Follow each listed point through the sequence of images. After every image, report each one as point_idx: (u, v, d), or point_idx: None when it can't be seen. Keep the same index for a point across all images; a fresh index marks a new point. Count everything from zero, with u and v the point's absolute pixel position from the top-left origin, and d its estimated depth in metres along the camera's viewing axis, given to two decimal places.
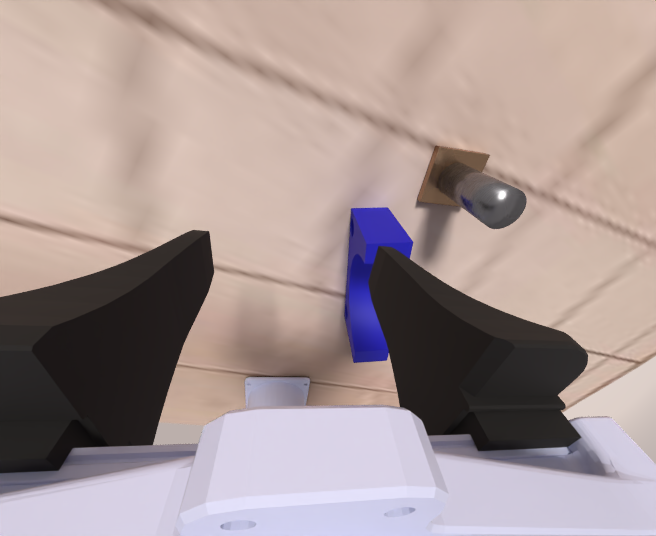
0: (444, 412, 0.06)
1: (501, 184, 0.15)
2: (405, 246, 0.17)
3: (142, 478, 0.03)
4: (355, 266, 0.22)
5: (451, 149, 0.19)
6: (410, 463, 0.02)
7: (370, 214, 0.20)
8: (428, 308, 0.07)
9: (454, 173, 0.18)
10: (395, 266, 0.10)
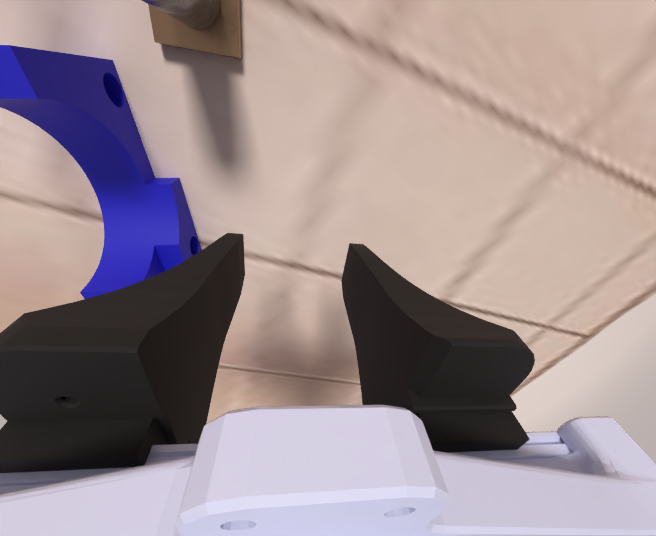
0: None
1: None
2: (1, 56, 0.09)
3: (142, 478, 0.03)
4: (84, 162, 0.15)
5: None
6: (410, 463, 0.02)
7: None
8: (385, 306, 0.07)
9: None
10: (361, 264, 0.10)
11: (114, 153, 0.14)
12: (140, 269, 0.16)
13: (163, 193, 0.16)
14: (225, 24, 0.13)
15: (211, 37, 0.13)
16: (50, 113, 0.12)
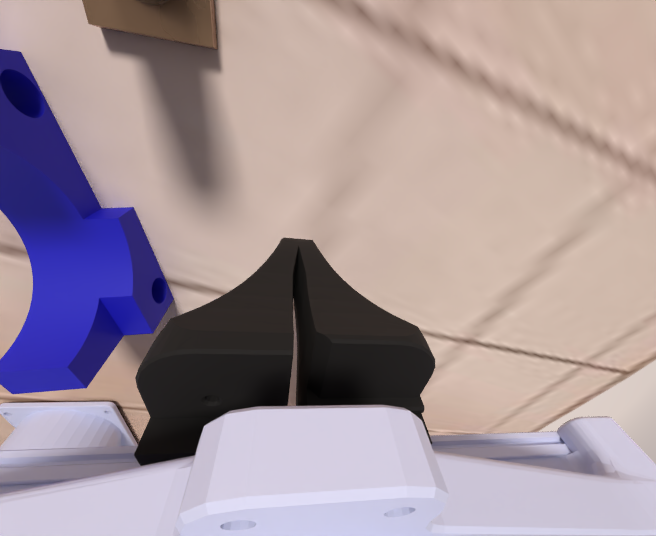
0: None
1: None
2: None
3: (142, 478, 0.03)
4: None
5: None
6: (410, 463, 0.02)
7: None
8: (306, 302, 0.07)
9: None
10: (301, 259, 0.09)
11: (32, 181, 0.10)
12: (77, 333, 0.12)
13: (109, 230, 0.12)
14: None
15: (171, 17, 0.09)
16: None
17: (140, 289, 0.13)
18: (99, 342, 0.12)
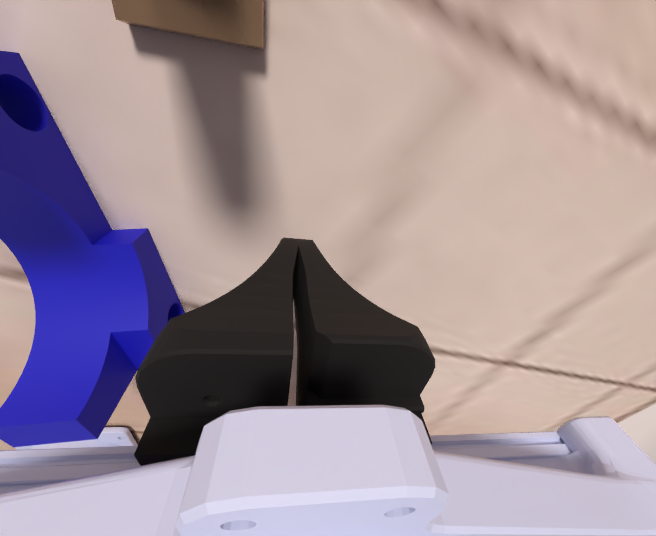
0: None
1: None
2: None
3: (142, 478, 0.03)
4: None
5: None
6: (410, 464, 0.02)
7: None
8: (306, 302, 0.07)
9: None
10: (300, 259, 0.09)
11: (33, 205, 0.09)
12: (87, 375, 0.10)
13: (122, 256, 0.11)
14: None
15: (214, 11, 0.07)
16: None
17: (156, 320, 0.12)
18: (111, 383, 0.11)
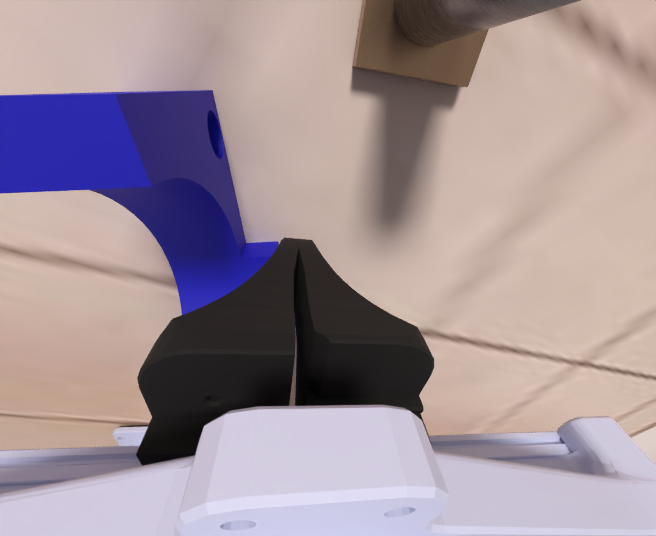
0: None
1: None
2: (95, 115, 0.04)
3: (142, 478, 0.03)
4: (164, 235, 0.10)
5: None
6: (410, 463, 0.02)
7: None
8: (305, 302, 0.07)
9: None
10: (300, 259, 0.09)
11: (209, 224, 0.10)
12: None
13: None
14: (466, 38, 0.08)
15: (439, 58, 0.09)
16: None
17: None
18: None
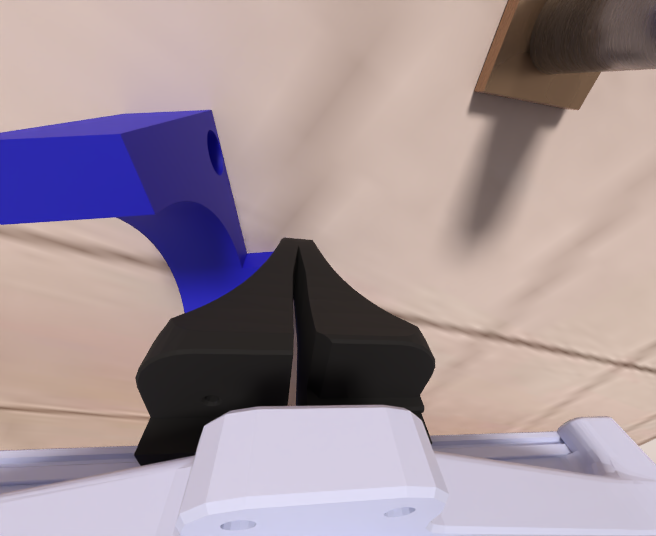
0: None
1: None
2: (101, 153, 0.05)
3: (142, 478, 0.03)
4: (167, 249, 0.11)
5: None
6: (410, 463, 0.02)
7: (144, 115, 0.08)
8: (306, 302, 0.07)
9: None
10: (300, 260, 0.09)
11: (211, 237, 0.10)
12: None
13: None
14: None
15: (558, 84, 0.09)
16: None
17: None
18: None
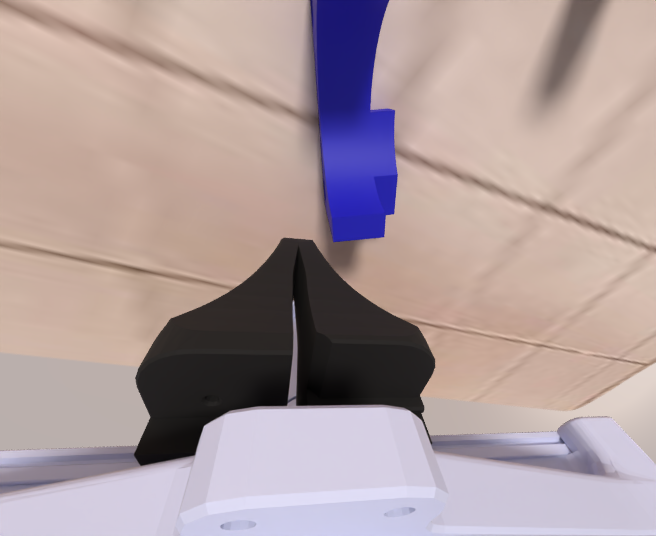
0: None
1: None
2: None
3: (142, 478, 0.03)
4: (324, 87, 0.15)
5: None
6: (410, 463, 0.02)
7: None
8: (306, 302, 0.07)
9: None
10: (300, 259, 0.09)
11: (359, 74, 0.14)
12: (371, 198, 0.16)
13: (384, 121, 0.16)
14: None
15: None
16: (348, 17, 0.11)
17: None
18: None
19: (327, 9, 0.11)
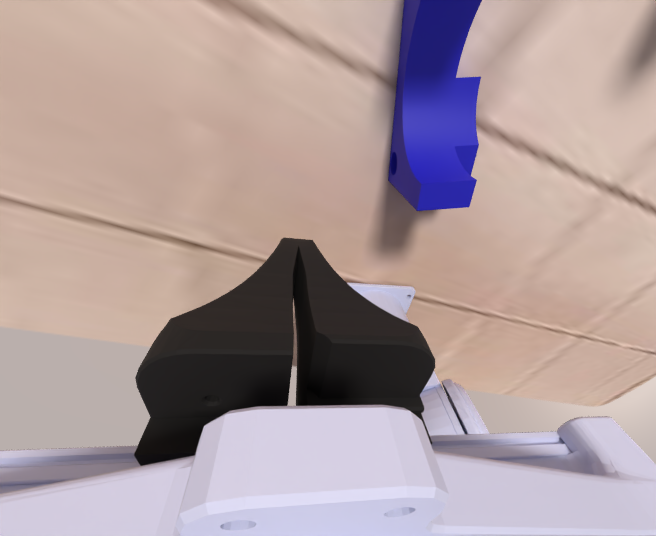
0: None
1: None
2: None
3: (142, 478, 0.03)
4: (415, 48, 0.14)
5: None
6: (410, 463, 0.02)
7: None
8: (306, 302, 0.07)
9: None
10: (300, 259, 0.09)
11: (454, 34, 0.14)
12: (455, 167, 0.15)
13: (468, 88, 0.15)
14: None
15: None
16: None
17: None
18: None
19: None
